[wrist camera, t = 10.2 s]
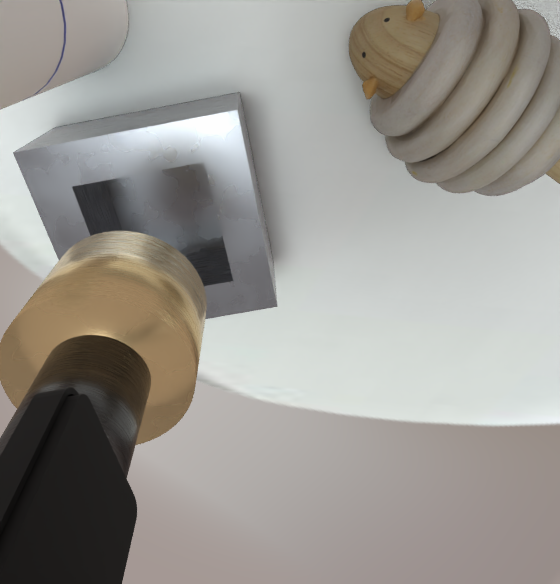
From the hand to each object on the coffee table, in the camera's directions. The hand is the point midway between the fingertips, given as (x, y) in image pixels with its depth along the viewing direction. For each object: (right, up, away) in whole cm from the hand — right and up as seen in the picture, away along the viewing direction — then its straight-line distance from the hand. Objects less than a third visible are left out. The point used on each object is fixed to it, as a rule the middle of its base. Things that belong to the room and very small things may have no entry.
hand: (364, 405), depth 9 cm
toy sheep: (+9, +16, +27) cm, 33 cm away
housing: (-10, +9, +29) cm, 32 cm away
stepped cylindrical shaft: (-9, +1, +16) cm, 18 cm away
